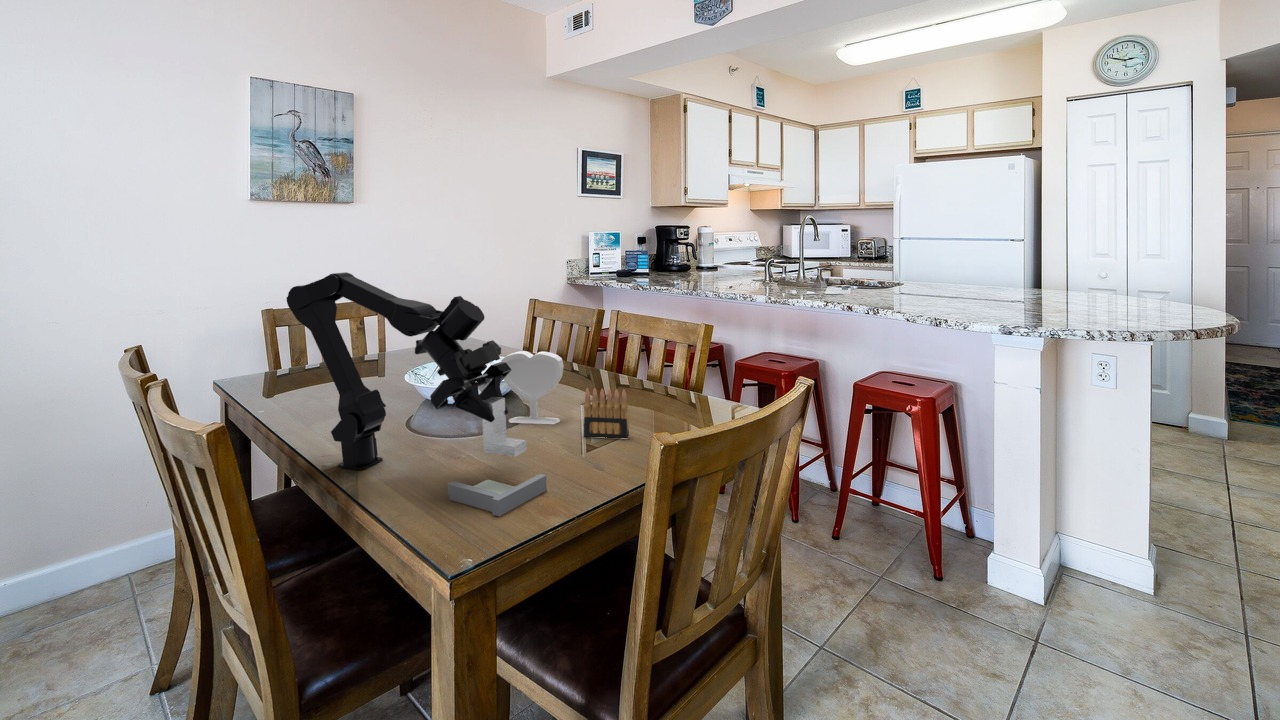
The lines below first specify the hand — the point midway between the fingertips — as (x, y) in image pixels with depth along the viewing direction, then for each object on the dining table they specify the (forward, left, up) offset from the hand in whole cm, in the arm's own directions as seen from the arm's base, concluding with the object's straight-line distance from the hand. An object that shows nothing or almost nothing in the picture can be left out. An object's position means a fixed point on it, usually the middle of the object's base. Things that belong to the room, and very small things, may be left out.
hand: (499, 417), depth 120 cm
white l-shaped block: (0, -1, -7) cm, 7 cm away
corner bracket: (-5, -2, -13) cm, 15 cm away
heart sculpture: (+39, +15, -14) cm, 44 cm away
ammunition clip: (+33, -8, -14) cm, 36 cm away
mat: (-4, -1, -13) cm, 14 cm away
